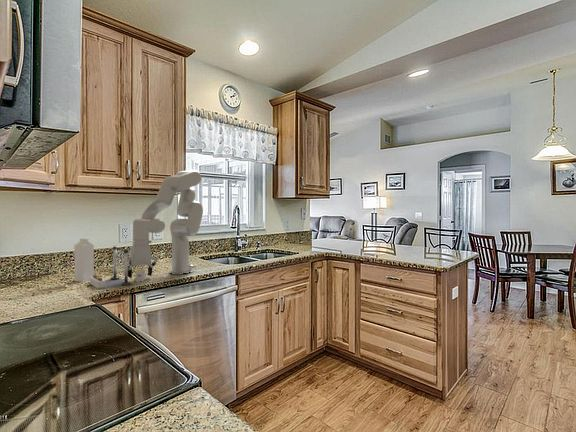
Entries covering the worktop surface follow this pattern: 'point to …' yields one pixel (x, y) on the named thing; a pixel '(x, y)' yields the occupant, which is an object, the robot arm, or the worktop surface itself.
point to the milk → (84, 260)
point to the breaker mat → (111, 283)
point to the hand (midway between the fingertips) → (140, 276)
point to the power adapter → (140, 275)
